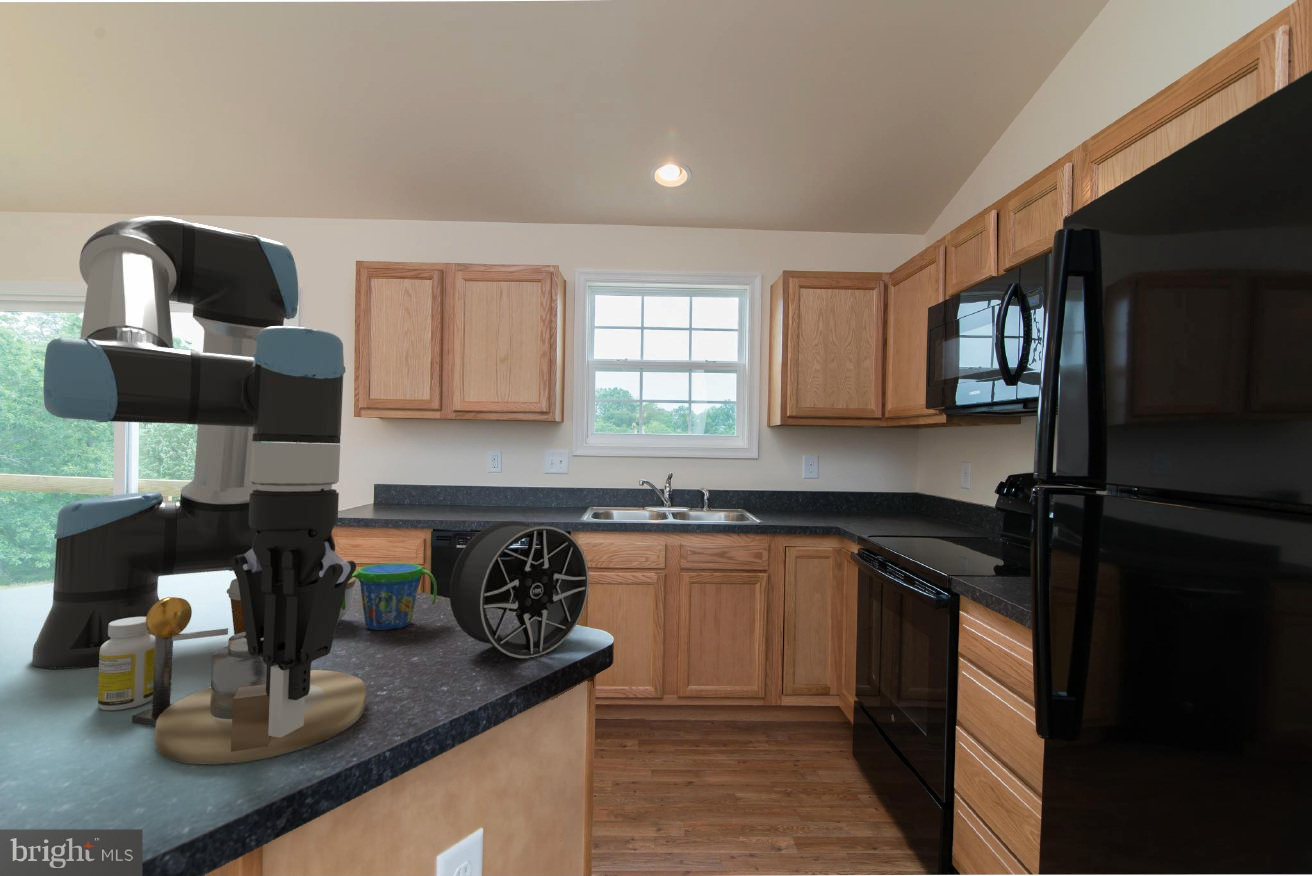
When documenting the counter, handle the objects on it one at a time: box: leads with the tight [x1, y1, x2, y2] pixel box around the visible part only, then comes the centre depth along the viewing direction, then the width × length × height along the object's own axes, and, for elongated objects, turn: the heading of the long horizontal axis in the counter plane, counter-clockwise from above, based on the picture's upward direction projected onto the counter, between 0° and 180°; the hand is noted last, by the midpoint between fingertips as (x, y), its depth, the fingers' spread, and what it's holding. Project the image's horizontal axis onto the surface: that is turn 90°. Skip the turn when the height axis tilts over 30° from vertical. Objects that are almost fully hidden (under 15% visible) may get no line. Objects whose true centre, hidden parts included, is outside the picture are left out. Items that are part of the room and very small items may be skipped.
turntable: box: [154, 669, 367, 765], centre depth 69 cm, size 22×20×7 cm
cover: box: [210, 632, 267, 719], centre depth 69 cm, size 8×8×8 cm
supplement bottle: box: [97, 617, 155, 712], centre depth 74 cm, size 5×5×10 cm
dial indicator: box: [131, 596, 229, 728], centre depth 71 cm, size 6×7×14 cm
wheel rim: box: [448, 520, 590, 659], centre depth 97 cm, size 20×9×20 cm, turn 136°
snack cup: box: [341, 562, 438, 631], centre depth 108 cm, size 16×10×10 cm
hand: (286, 730), depth 59 cm, fingers closed
